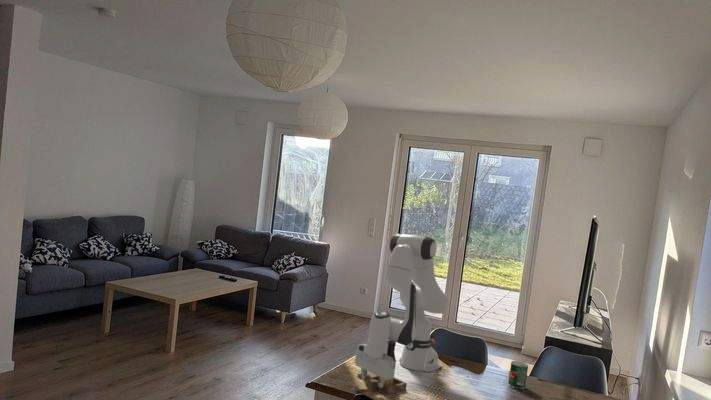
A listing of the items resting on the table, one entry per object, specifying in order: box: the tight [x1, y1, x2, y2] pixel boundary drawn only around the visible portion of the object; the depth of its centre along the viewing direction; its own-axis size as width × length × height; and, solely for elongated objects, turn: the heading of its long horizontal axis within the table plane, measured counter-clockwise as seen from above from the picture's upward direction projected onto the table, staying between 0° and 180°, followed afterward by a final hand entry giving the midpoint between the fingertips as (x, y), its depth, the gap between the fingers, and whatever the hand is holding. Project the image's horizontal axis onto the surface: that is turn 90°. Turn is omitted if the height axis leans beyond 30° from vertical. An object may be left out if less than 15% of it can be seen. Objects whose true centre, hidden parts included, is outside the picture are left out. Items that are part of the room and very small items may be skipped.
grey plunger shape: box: [356, 370, 372, 380], centre depth 252 cm, size 6×6×12 cm
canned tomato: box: [507, 360, 529, 388], centre depth 268 cm, size 8×8×11 cm
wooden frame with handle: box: [365, 375, 408, 396], centre depth 242 cm, size 16×12×4 cm
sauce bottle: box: [379, 340, 397, 386], centre depth 243 cm, size 7×6×20 cm
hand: (372, 383), depth 237 cm, fingers open, 8 cm apart
